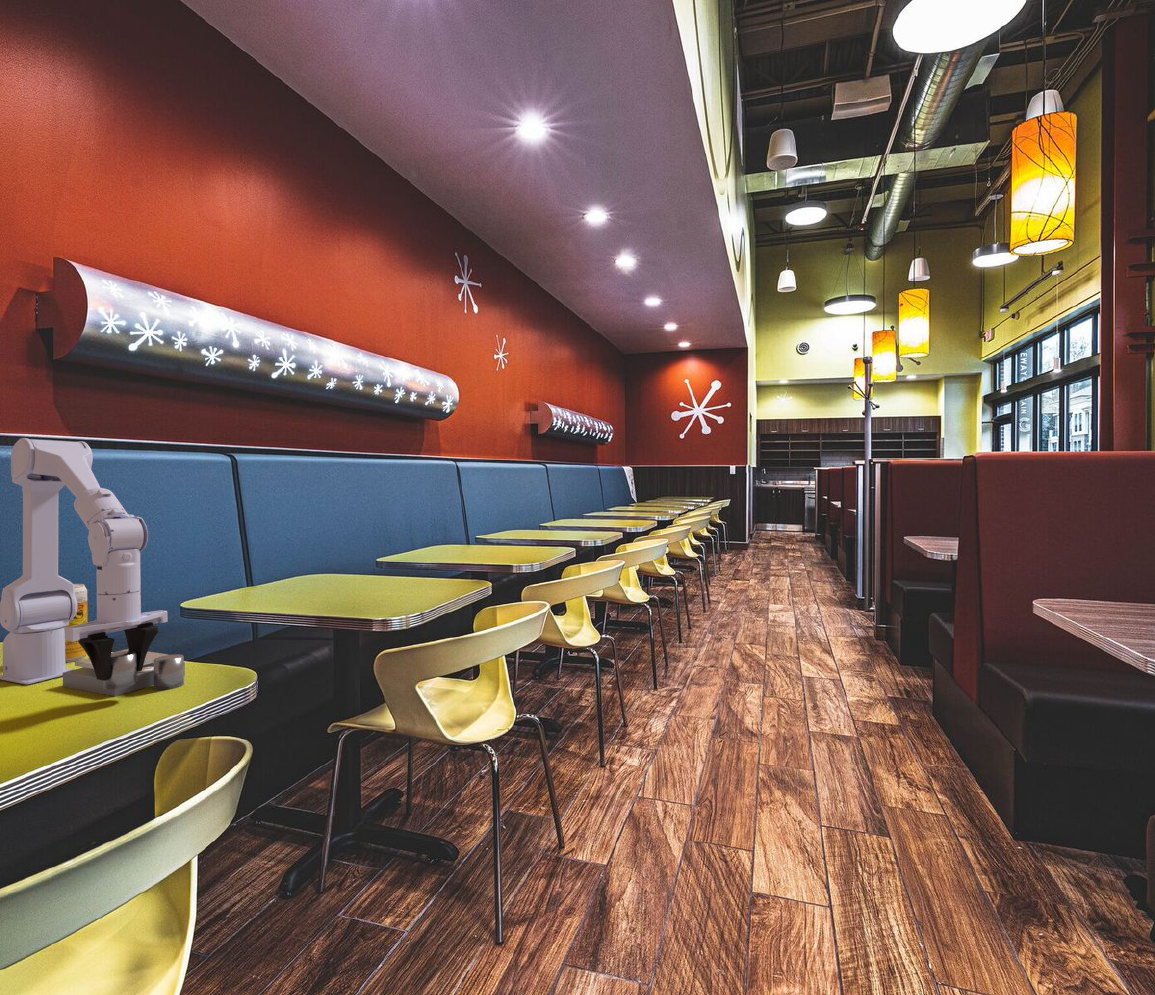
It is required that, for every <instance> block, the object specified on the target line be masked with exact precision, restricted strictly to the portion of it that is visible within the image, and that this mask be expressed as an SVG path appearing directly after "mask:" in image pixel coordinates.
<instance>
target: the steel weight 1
mask: <svg viewBox="0 0 1155 995" xmlns="http://www.w3.org/2000/svg"><path fill="white" fill-rule="evenodd" d="M119 651H120V652H117V651H113V652H114V653H113V652H111V658H110V679H109V680H106V681H103V688H104V689H120V688H125V687H129V686H132V685H135V684H136V683H137V652H136V651H122V650H119Z"/></svg>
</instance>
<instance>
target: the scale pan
mask: <svg viewBox="0 0 1155 995" xmlns="http://www.w3.org/2000/svg"><path fill="white" fill-rule="evenodd" d="M120 651H129V650H128V648H126V649H122V650H117V651H116V652H120ZM114 652H115V651H113V652H112V653H114ZM165 655H169V654H168V653H161V652H160V653H159V652H153V651H147V654H146V657H145V661H144V664H143V665H147V664H150V663H154V661H153V660H154V659H155V658H157V657H161V656H165ZM74 666H75V667H79V668H83V667H85V668H91V669H94V668H93V665H92V663H91V661H90V659H89V657H87V658H84V659H81V660H78V661H74Z"/></svg>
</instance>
